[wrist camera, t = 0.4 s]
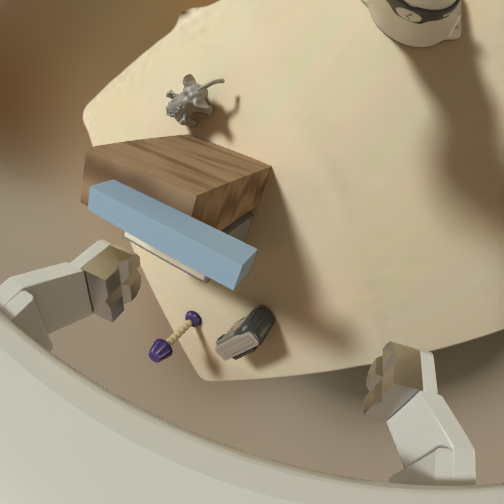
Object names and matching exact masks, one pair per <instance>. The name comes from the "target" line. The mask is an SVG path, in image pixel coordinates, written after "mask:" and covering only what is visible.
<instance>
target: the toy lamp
mask: <svg viewBox="0 0 504 504" xmlns="http://www.w3.org/2000/svg"><path fill="white" fill-rule="evenodd" d="M185 319H186V321H185V323H183V324H182V325H181V327H179V328H178V330H176V331H175V332H174V334H172V335H171V336H170V337H169V338H168V339H167V340H166V341H165V340H163V339H157V340H156V341H155V342H154V344H153V346H152V347H151V349H150V351H149V357H150V358H151V360H152V361H154V362H160V361H162V360H164V359H166V358H168V357H169V356H171V355H172V352H173V351H172V348H171V345H173V344H174V342H175V341H177V340H178V338H180V337H181V336H182V334H184V333H185V331H187V330H188V329H189V327H191V326H192V327H196V326H199V325H200V324H201V318H200V316H199V315H198V314H197V313H196V312H194V311H189V312H187V314H186V316H185Z"/></svg>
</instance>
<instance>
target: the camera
mask: <svg viewBox="0 0 504 504" xmlns="http://www.w3.org/2000/svg"><path fill="white" fill-rule="evenodd" d="M271 313H272V312H271V311H270V310H269V309H267V308H266V307H265V306H263V305H260V306H259V307H257V308H255V309H254V310H252V311H251V313H250V314H249V315H248V316H246V317H245V318H243V319H241V320H239V321H238V322H236V323H235V324H234V325H233V326H232V328H231V329H230V330H229V331H228V333H227V334H224V335H222V336H221V337H219V338H218V339H217V342H216V344H217V346H216V348H215V351H216V352H217V354H218V355H220V356H221V357H222V358H223V360H225V361H226V360H228V359H230V358H234V359H235V360H237V359H239V358H241V357H243V356H245V355H247V354H249V353H251V352H254V351H255V350H256V348H257V347H258V345H260V344H262V342H263V341H264V339H265V337H266V336H267V334H268V332H269V331H270V329H271V327H272V325H273V324H274V322H275V318H274V316H273V315H272V314H271Z"/></svg>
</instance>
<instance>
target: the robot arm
mask: <svg viewBox="0 0 504 504" xmlns="http://www.w3.org/2000/svg"><path fill="white" fill-rule="evenodd" d="M362 1H363V2H364V3H365V4H366V5H367V6H368V8H369V10H370V13H371V16H372V18H373V20H374V21H375V23H376V24H377V26H378V27H379V28H380V29H381V30H382V31H383V32H384V33H385V34H386V35H388V36H389V37H391V38H392V39H394V40H396V41H398V42H400V43H402V44H405V45H408V46H413V47H428V46H432V45H435V44H437V43H439V42H441V41H443V40H453V39H458V38H459V37H460V36H461V0H362ZM455 27H456V28H455ZM139 266H140V257H139V256H138V255H137V254H135V253H133V252H131V251H128V250H126V249H124V248H121V247H119V246H117V245H114V244H111V243H109V242H107V241H105V240H98V241H97V242H96V243H95V244H93V245H92V246H91V247H89V248H88V249H87V250H86V251H84V252H83V253H82V254H81V255H79V256H78V257H77V258H76V259H74V260H73V261H72V262H71V263H67V262H65V263H61V264H57V265H53V266H50V267H46V268H42V269H39V270H35V271H31V272H28V273H24V274H20V275H17V276H13V277H10V278H8V279H7V280H6V281H5V282H4V283H2V284H1V285H0V504H504V483H500V484H489V485H476V470H475V449H474V448H473V446H472V444H471V442H470V441H469V439H468V437H467V436H466V434H465V433H464V431H463V429H462V428H461V426H460V424H459V423H458V421H457V420H456V418H455V416H454V415H453V413H452V411H451V410H450V408H449V407H448V405H447V404H446V402H445V400H444V399H443V397H442V396H441V395H438V393H437V383H436V374H435V366H434V359H433V355H432V353H431V352H428V351H424V350H420V349H415V348H412V347H408V346H405V345H401V344H397V343H394V342H389V343H387V344H386V346H385V347H384V348H383V355H382V356H380V357H378V358H376V359H375V361H374V362H373V363H372V365H371V368H370V370H369V372H368V376H367V383H366V386H367V388H368V389H369V391H370V392H369V394H368V395H367V396H366V397H365V405H364V415H366V416H370V417H374V418H378V419H382V420H386V421H387V424H388V427H389V430H390V432H391V435H392V437H393V440H394V442H395V444H396V447H397V450H398V453H399V455H400V458H401V460H402V463H403V465H404V468H405V469H404V470H401V471H400V472H398V473H396V474H394V475H393V476H391V477H390V478H389V483H386V482H378V481H370V480H362V479H356V478H350V477H344V476H339V475H334V474H328V473H323V472H319V471H314V470H309V469H306V468H302V467H298V466H294V465H289V464H286V463H282V462H279V461H275V460H272V459H268V458H265V457H262V456H258V455H255V454H252V453H249V452H246V451H243V450H240V449H237V448H235V447H232V446H229V445H226V444H223V443H221V442H218V441H215V440H213V439H210V438H208V437H205V436H203V435H200V434H198V433H195V432H193V431H191V430H188V429H186V428H184V427H181V426H179V425H177V424H175V423H172V422H170V421H168V420H166V419H164V418H162V417H160V416H158V415H155V414H154V413H152V412H150V411H148V410H145V409H143V408H141V407H139V406H138V405H136V404H134V403H132V402H130V401H128V400H126V399H125V398H123V397H121V396H119V395H117V394H115V393H114V392H112V391H110V390H109V389H107V388H105V387H104V386H102V385H100V384H98V383H97V382H95V381H94V380H92V379H90V378H89V377H87V376H86V375H84V374H82V373H81V372H79V371H78V370H76V369H75V368H73V367H71V366H70V365H69V364H67V363H65V362H64V361H63V360H61V359H60V358H58V357H57V356H55V355H54V354H53V353H51V352H50V351H51V350H52V349H53V344H52V342H51V340H50V338H49V335H48V334H50V333H52V332H54V331H56V330H59V329H61V328H63V327H65V326H68V325H70V324H72V323H74V322H76V321H78V320H81V319H83V318H85V317H88V316H90V315H92V314H93V313H95V314H97V315H99V316H101V317H103V318H105V319H107V320H109V321H111V322H114V321H115V320H116V318H117V317H118V316H119V315H120V314H121V313H122V312H123V310H124V304H125V303H128V302H131V301H132V300H133V299H134V298H135V297H136V295H137V293H138V291H139V289H140V285H141V275H140V273H139V272H138V270H137V268H138V267H139Z"/></svg>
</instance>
